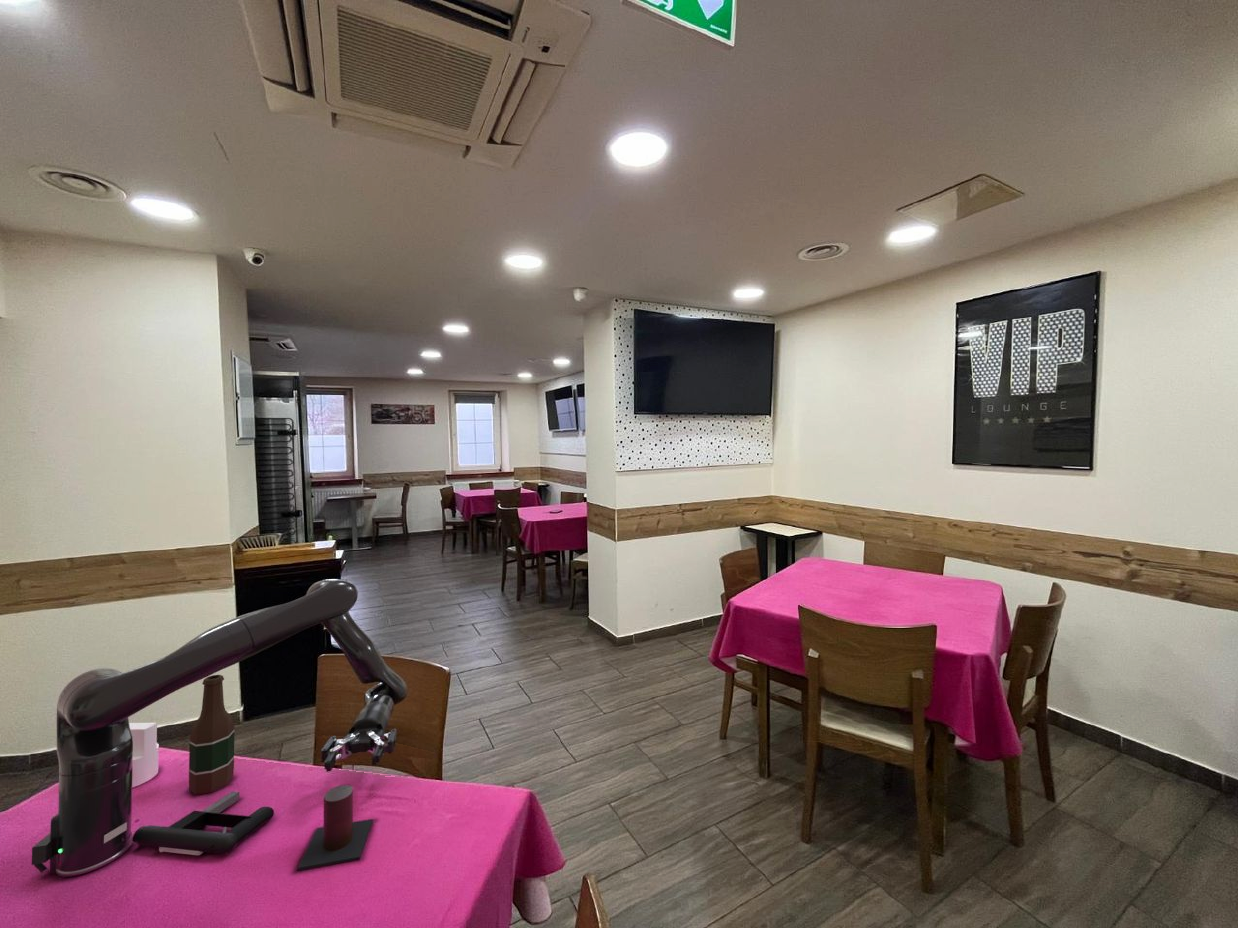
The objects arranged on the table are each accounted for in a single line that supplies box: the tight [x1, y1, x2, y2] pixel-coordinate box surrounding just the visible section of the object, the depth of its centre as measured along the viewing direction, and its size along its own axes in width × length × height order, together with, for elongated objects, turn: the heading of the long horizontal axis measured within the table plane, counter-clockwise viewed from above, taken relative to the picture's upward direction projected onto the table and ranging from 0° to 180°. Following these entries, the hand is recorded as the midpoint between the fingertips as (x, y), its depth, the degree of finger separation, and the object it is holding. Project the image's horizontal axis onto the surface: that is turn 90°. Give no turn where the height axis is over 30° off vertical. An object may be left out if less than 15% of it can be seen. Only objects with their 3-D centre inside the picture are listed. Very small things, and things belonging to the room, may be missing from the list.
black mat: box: [296, 818, 374, 871], centre depth 91 cm, size 10×10×1 cm
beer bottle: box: [188, 674, 235, 796], centre depth 109 cm, size 8×8×24 cm
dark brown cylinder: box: [323, 784, 354, 851], centre depth 92 cm, size 5×5×9 cm
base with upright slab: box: [129, 722, 160, 789], centre depth 111 cm, size 9×9×12 cm
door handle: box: [132, 790, 275, 856], centre depth 96 cm, size 3×20×16 cm
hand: (351, 763), depth 100 cm, fingers open, 8 cm apart
